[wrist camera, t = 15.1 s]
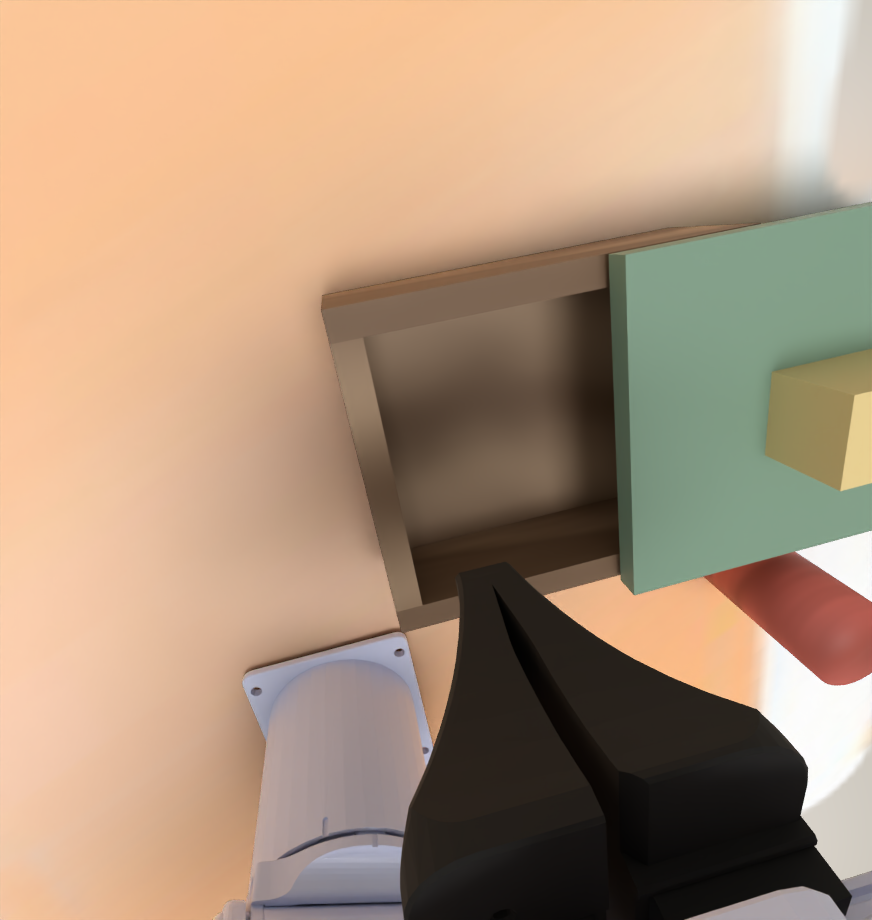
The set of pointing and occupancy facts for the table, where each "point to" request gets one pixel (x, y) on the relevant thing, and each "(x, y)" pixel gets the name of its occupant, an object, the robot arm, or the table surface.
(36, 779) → the table surface
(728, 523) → the lid
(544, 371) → the wooden box
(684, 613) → the table surface
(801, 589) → the key peg
